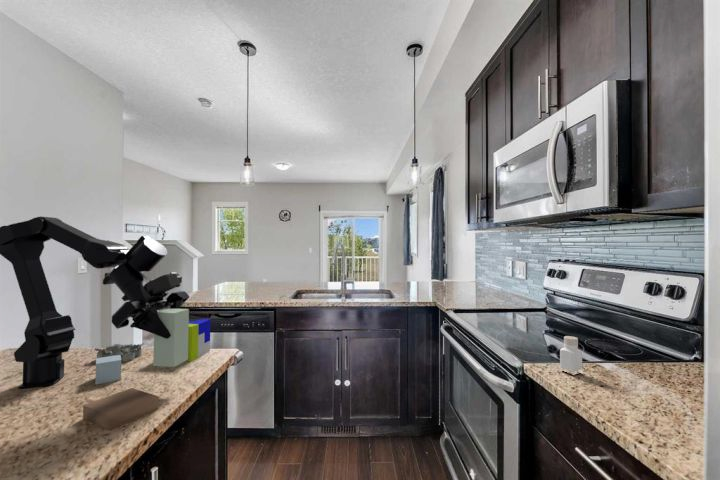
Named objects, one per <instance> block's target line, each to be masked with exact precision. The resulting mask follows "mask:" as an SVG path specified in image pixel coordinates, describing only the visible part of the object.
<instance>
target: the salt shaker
mask: <svg viewBox="0 0 720 480" xmlns="http://www.w3.org/2000/svg"><path fill="white" fill-rule="evenodd" d="M563 344H564V345H563V346H564V347H562V348H560V350H559V365H560V366H559V368H560V367H561V368H563V369H566V370H569V371H572V372H575V371H578V370H580V369H582V370H583V351H581V350H580V349H578V348H579V347H578V346H579V338H578V337H577V336H576V337H575V336H572V335H571V336H570V335H565V336H563Z"/></svg>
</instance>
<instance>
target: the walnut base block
mask: <svg viewBox="0 0 720 480" xmlns="http://www.w3.org/2000/svg"><path fill="white" fill-rule="evenodd" d="M159 398H160V397H159V395H156V394H153V393H150V392H146V391H144V390H139V389H137V388H133V387H130V388H128V389H125V390H122V391H120V392H117V393H114V394H110V395H108V396H105V397H102V398H100V399H97V400H93V401H91V402H88V403H86V404H83V407H82V408H83V409H82V419H83V420H84V421H87V422H89V423H92V424H93V425H96V426H99V427H101V428H104V429H106V430H107V431H112V430H114V429H117V428H119V427H120V426H123V425H125V424H128V423H130V422H132V421H134V420H137V419H139V418H141V417H144V416H146V415H148V414H150V413H153V412H155V411H157V410H159V401H160V399H159Z"/></svg>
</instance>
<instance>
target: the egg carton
mask: <svg viewBox="0 0 720 480" xmlns="http://www.w3.org/2000/svg"><path fill="white" fill-rule="evenodd" d="M143 345H144V342H143V343H140V344H139V343H138V344H133V343H130V344H120V343H114V344H112V345H110V346H106V348H104V347H103V348H97V347H96V348H95V349H94V351H96V358H102V357H109V356H115V355H121V361H122V362H123V363H124V362H125V363H126V362H129V361H134V360H135V359H136V358H137V357H141V356H142V347H143Z"/></svg>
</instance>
